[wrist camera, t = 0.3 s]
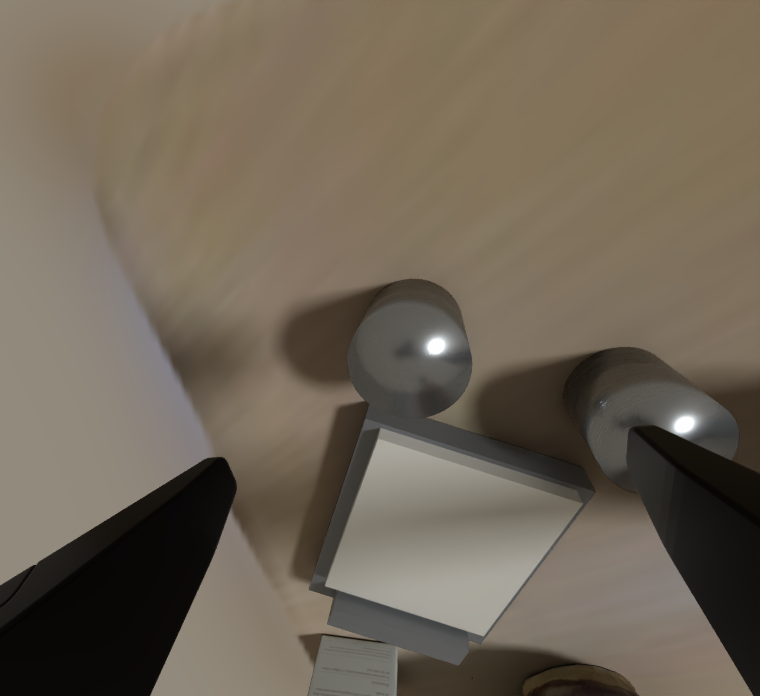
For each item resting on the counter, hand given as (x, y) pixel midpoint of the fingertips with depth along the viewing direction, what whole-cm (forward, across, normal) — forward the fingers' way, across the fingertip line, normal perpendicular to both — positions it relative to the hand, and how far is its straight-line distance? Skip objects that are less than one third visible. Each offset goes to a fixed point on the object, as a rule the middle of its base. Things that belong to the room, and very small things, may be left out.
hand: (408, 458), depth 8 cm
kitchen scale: (+13, +2, +17) cm, 21 cm away
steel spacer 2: (+13, -10, +7) cm, 18 cm away
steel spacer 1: (+13, +1, +2) cm, 13 cm away
